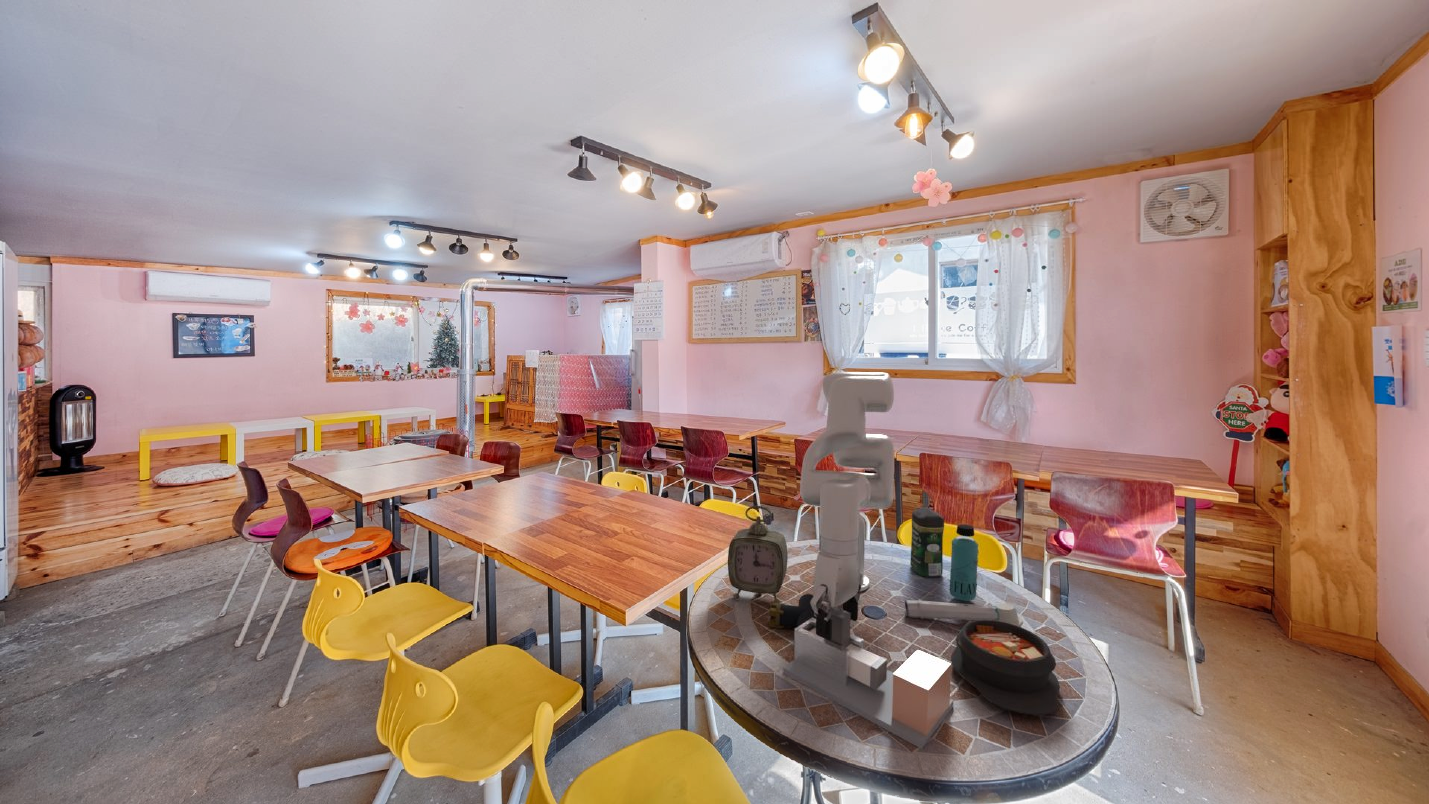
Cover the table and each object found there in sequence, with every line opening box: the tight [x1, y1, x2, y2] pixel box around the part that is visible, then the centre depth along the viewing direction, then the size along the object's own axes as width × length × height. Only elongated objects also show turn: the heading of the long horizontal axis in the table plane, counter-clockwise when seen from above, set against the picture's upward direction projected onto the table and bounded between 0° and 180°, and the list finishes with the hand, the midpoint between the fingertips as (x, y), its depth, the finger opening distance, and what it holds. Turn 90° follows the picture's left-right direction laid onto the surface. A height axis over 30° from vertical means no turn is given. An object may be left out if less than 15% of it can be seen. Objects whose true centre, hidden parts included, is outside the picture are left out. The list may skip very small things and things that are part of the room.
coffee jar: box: [909, 507, 945, 578], centre depth 148 cm, size 10×8×19 cm
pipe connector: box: [768, 593, 816, 630], centre depth 119 cm, size 12×5×15 cm
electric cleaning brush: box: [904, 598, 1024, 628], centre depth 120 cm, size 5×7×25 cm
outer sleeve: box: [793, 618, 864, 686], centre depth 102 cm, size 12×6×7 cm, turn 45°
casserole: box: [950, 620, 1061, 716], centre depth 99 cm, size 25×19×8 cm
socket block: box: [892, 649, 952, 736], centre depth 88 cm, size 6×10×8 cm, turn 135°
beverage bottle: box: [948, 523, 979, 602], centre depth 130 cm, size 6×7×20 cm
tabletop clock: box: [727, 505, 789, 603], centre depth 132 cm, size 14×9×25 cm, turn 73°
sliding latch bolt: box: [809, 607, 888, 690], centre depth 99 cm, size 16×4×11 cm, turn 45°
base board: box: [782, 659, 954, 750], centre depth 97 cm, size 28×14×1 cm, turn 45°
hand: (837, 627), depth 100 cm, fingers open, 9 cm apart
